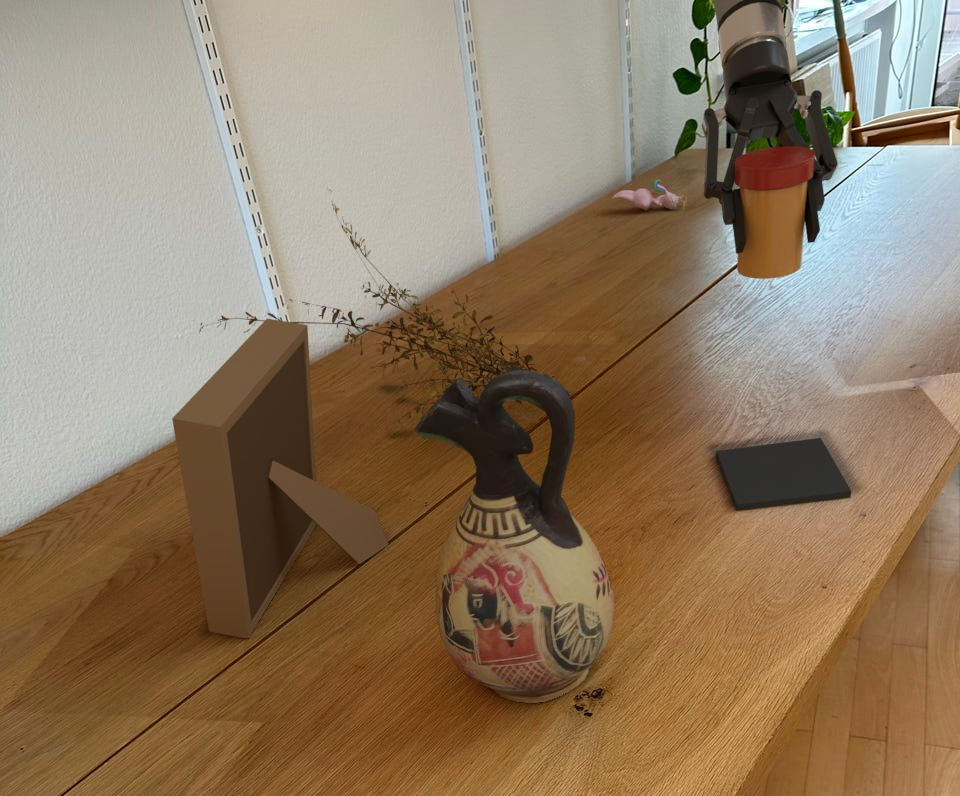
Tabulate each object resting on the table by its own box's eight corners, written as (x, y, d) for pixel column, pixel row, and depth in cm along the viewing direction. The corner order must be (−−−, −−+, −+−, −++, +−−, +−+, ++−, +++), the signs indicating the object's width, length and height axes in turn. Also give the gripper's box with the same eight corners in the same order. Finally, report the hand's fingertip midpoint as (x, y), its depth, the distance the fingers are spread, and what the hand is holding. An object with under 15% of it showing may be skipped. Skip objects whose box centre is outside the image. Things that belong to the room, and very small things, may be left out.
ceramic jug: (425, 719, 80) (341, 411, 61) (486, 611, 91) (431, 319, 72) (610, 752, 74) (581, 420, 55) (654, 632, 84) (642, 319, 65)
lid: (802, 162, 107) (804, 141, 106) (822, 181, 101) (824, 159, 99) (728, 174, 108) (728, 154, 107) (742, 194, 102) (743, 172, 100)
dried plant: (628, 254, 113) (302, 120, 115) (557, 386, 93) (167, 221, 95) (558, 439, 136) (289, 325, 138) (490, 574, 117) (179, 439, 119)
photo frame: (212, 638, 94) (114, 421, 78) (286, 522, 110) (218, 322, 94) (344, 641, 91) (269, 413, 75) (401, 520, 106) (349, 311, 90)
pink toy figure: (686, 209, 184) (614, 201, 187) (691, 178, 180) (617, 170, 183) (681, 219, 179) (608, 211, 183) (686, 187, 175) (611, 179, 179)
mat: (820, 443, 105) (820, 437, 105) (850, 497, 96) (851, 491, 96) (716, 456, 107) (716, 450, 106) (736, 510, 97) (736, 504, 97)
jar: (793, 253, 113) (800, 148, 106) (808, 273, 108) (817, 163, 100) (731, 262, 114) (734, 158, 107) (743, 282, 109) (747, 174, 101)
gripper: (834, 67, 110) (858, 245, 108) (665, 96, 113) (685, 270, 111) (851, 21, 103) (877, 210, 101) (670, 53, 105) (692, 239, 103)
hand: (777, 241), depth 106 cm, fingers closed on jar, 8 cm apart
